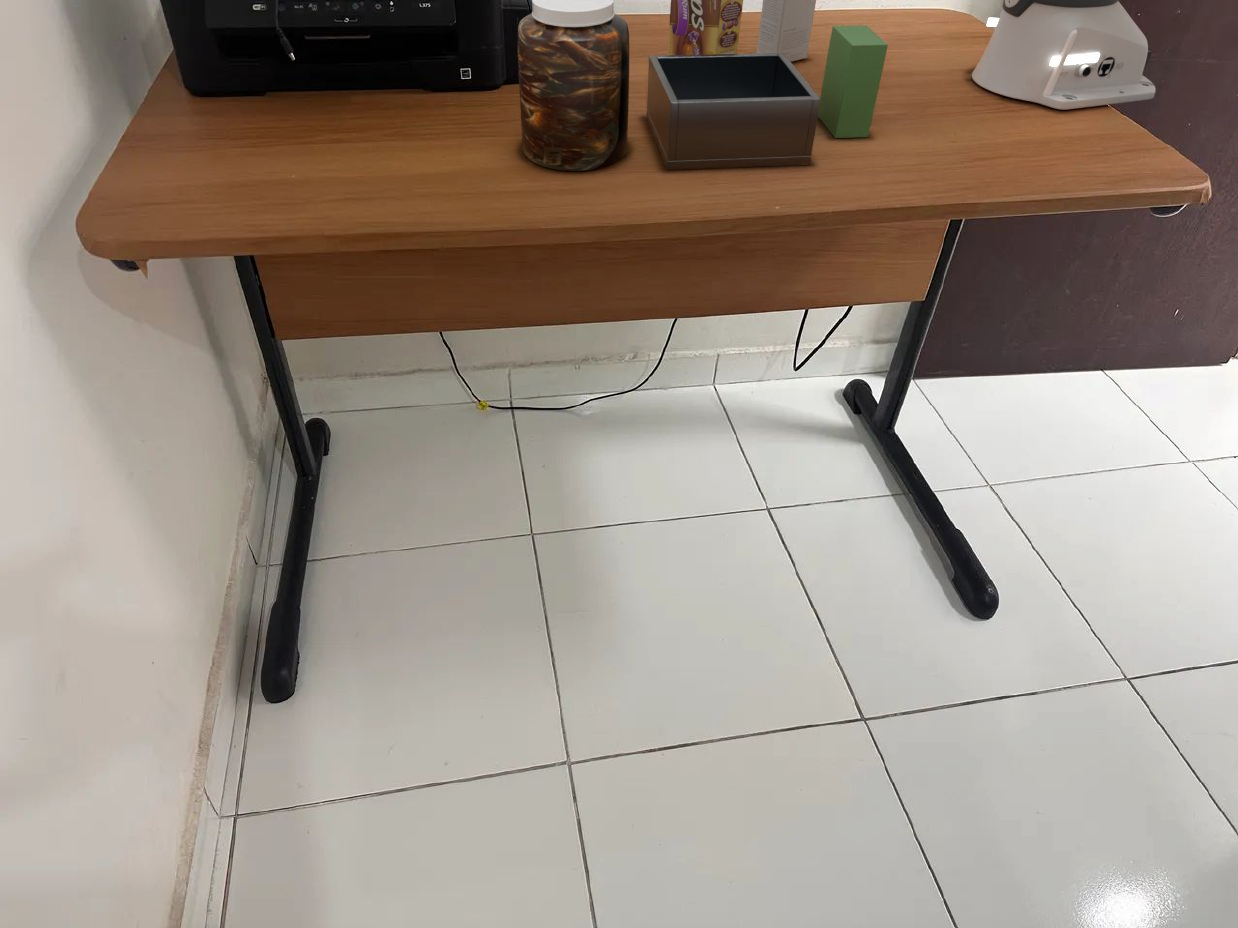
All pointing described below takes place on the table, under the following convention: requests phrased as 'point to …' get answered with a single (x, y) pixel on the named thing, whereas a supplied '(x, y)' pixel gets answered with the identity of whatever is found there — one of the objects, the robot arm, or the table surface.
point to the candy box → (704, 27)
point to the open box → (730, 111)
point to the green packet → (851, 80)
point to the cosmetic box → (786, 27)
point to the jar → (574, 84)
